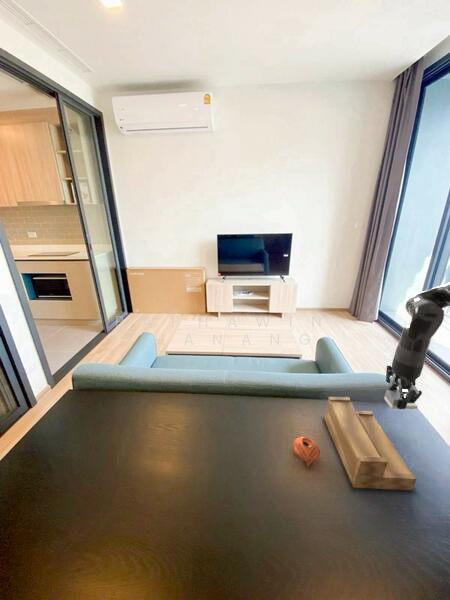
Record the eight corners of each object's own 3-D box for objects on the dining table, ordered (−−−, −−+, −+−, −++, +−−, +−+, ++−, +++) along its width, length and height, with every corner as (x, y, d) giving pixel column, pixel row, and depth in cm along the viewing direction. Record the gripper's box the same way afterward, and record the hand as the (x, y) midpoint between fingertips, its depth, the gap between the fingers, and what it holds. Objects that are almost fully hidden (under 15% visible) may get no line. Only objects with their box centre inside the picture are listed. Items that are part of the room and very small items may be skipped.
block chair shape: (407, 399, 83) (410, 390, 82) (416, 409, 79) (419, 400, 78) (383, 398, 83) (386, 390, 82) (391, 408, 79) (394, 399, 78)
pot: (289, 464, 74) (292, 443, 73) (293, 447, 81) (295, 428, 80) (317, 474, 71) (320, 453, 70) (319, 456, 78) (321, 437, 77)
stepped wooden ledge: (368, 420, 89) (375, 397, 85) (412, 490, 67) (423, 463, 64) (324, 419, 90) (328, 396, 86) (353, 487, 68) (360, 461, 64)
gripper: (439, 373, 68) (422, 420, 74) (406, 346, 82) (394, 387, 88) (412, 373, 69) (397, 419, 75) (383, 346, 82) (372, 387, 88)
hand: (395, 402), depth 81 cm, fingers closed on block chair shape, 4 cm apart
